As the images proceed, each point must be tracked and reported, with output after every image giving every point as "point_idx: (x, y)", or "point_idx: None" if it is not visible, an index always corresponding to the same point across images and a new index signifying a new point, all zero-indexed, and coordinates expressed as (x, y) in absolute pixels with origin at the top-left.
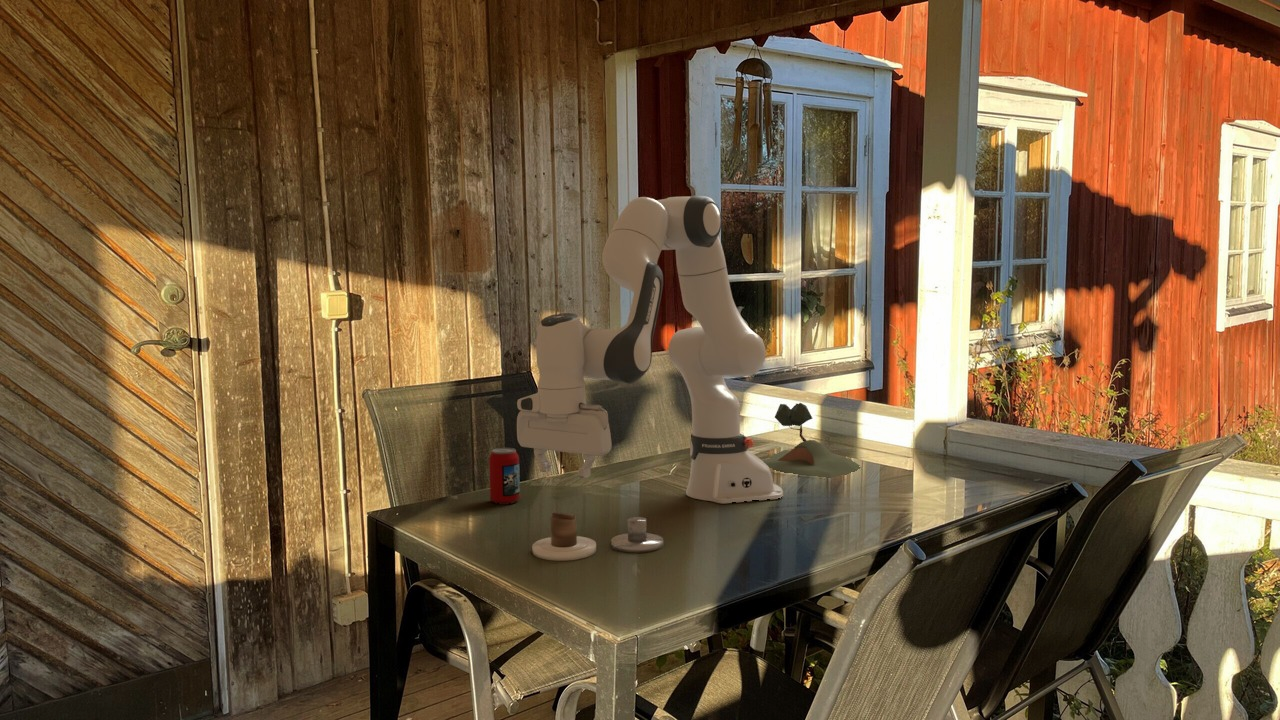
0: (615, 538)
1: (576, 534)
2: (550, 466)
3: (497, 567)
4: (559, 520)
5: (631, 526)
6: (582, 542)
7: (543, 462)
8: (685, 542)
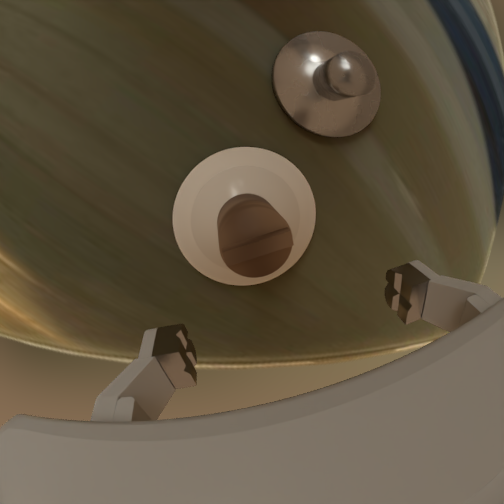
0: (289, 100)
1: (272, 206)
2: (177, 336)
3: (235, 347)
4: (270, 268)
5: (353, 96)
6: (270, 186)
7: (169, 381)
8: (374, 27)
